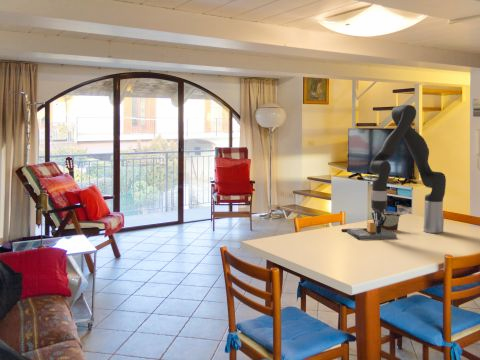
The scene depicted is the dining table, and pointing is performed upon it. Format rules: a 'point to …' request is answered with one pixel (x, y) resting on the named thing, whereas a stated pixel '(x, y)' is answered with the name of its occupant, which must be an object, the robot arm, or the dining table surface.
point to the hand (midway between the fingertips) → (378, 232)
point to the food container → (391, 220)
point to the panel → (365, 235)
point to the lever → (371, 227)
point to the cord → (352, 234)
